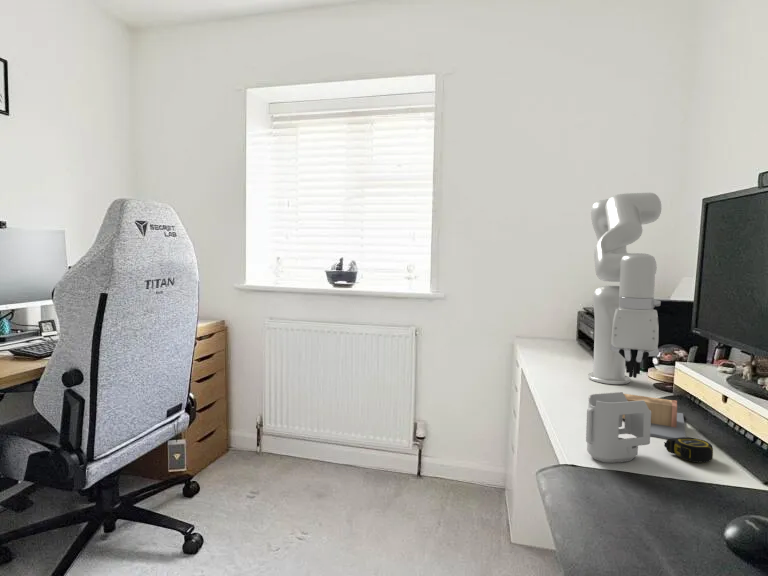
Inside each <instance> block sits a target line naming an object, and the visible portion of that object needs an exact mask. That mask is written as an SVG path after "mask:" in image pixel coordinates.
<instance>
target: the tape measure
mask: <svg viewBox="0 0 768 576" xmlns="http://www.w3.org/2000/svg"><path fill="white" fill-rule="evenodd" d="M663 443H664V444H663V446H664V448H666V450H667V452H668V453H670V454H673V455H676V457H679V458H680V459H683V460H684V461H688V462H694V463H709V462H711V461H712V460H713V458H714V448H713V445H712V444H711V443H710V442H709V441H707V440H704V439H701V438H700V439H699V438H696V437H691V436H686V437H680V438H670V439H666V440H665V441H664V442H663Z"/></svg>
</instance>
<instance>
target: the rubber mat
mask: <svg viewBox="0 0 768 576" xmlns="http://www.w3.org/2000/svg"><path fill="white" fill-rule="evenodd" d="M650 437H653V438H660V439H665V440H667V439H670V438H680V437H687V436H686V429H685V419H684V413H683V412H677V425H676V427H671V426H665V425H659V424H653V423H651V429H650Z"/></svg>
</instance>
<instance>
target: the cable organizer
mask: <svg viewBox="0 0 768 576" xmlns="http://www.w3.org/2000/svg"><path fill="white" fill-rule="evenodd" d="M623 393H624V392H623V391H618V392H615V391H614V392H606V393H605V392H604V393H603V392H602V393H593V394H590V395H588V402H587V403H588V405H587V410H586V426H585V427H586V428H585V429H586V433H585V441H586V451H587V453H588V454H589V455H590V456H591V457H592V458H593V459H595V460H597V461H599V462H603V463H608V464H609V463H612V464H613V463H618V462H619V463H620V462H621V463H622V462H623V463H624V462H625V463H626V462H630V461H632V460H633V459H634V458H636V457H637V456H638V454H639V452H638V451H639V446H648V445H650V443H651V436H650V429H651V411H650V410H649V409H648V407H647V405H646V403H645V401H644V400H641V401H629V402H628V401H627V399H626V397H625V396H624V394H625V393H624V394H623ZM624 414H625V419H624V427H623V418H622V416H623V415H624ZM622 427H623V428H622ZM626 434H627V435H631V436H634V437H629V438H625V437H624V438H623V437H620V436H619V435H626Z"/></svg>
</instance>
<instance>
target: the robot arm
mask: <svg viewBox="0 0 768 576" xmlns="http://www.w3.org/2000/svg"><path fill="white" fill-rule="evenodd" d="M661 214H662V201H661V199H660V197H659V195H657V194H656V193H654V192H635V193H634V192H633V193H632V192H631V193H629V192H627V193H626V192H625V193H619V194H615V195H613V196H611V197H610V198H605V199H601V200H598V201H595V202H594V203H593V204H592V206H591V209H590V219H591V225H592V228H593V230H594V233H595V235H596V239H597V242H596V244H595V246H594V253H593V258H594V259H593V261H594V270H595V274H596V276H597V278H598V279H599V280H600V281H603V282H612V283H616V282H617V283H619V285H603V286H599V287H597V288H596V289H595V290H594V291H593V292H592V305H593V316H594V337H593V339H594V341H593V342H594V343H593V347H594V348H593V366H592V367H593V371H590V372H588V374H587V377H588V379H589V380H591V381H593V382H597V383H601V384H608V385H626V384H629V383H630V382H631V378H636V379H637V375H640V374H641V362H643V361H644V360H645V359H646V358H648V357H654V356H655V357H656V356H659V355H660V350H659V347H658V346H659V338H660V337H659V335H660V334H659V316H658V310H657V309H654V308H655V307H660V306H661V303H662V302H661V300H658V299H655V284H656V283H655V280H656V274H657V266H658V265H657V261H656V258H655V256H653V255H651V254H649V253H635V252H634V253H633V252H631V253H629V252H628V251H627V246H629V245H632V244H633V243H635V242H637V241H638V240H639V239H640V237H641V236H642V235H643V225H648V224H652V223H654V222H656V221H657V220H658V219H660V216H661ZM631 350H633V351H635V350H636V351H637V355H636V357H635V358H634V359H633V357H632V351H631ZM626 373H627V374H628V376H627V375H626Z"/></svg>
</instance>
